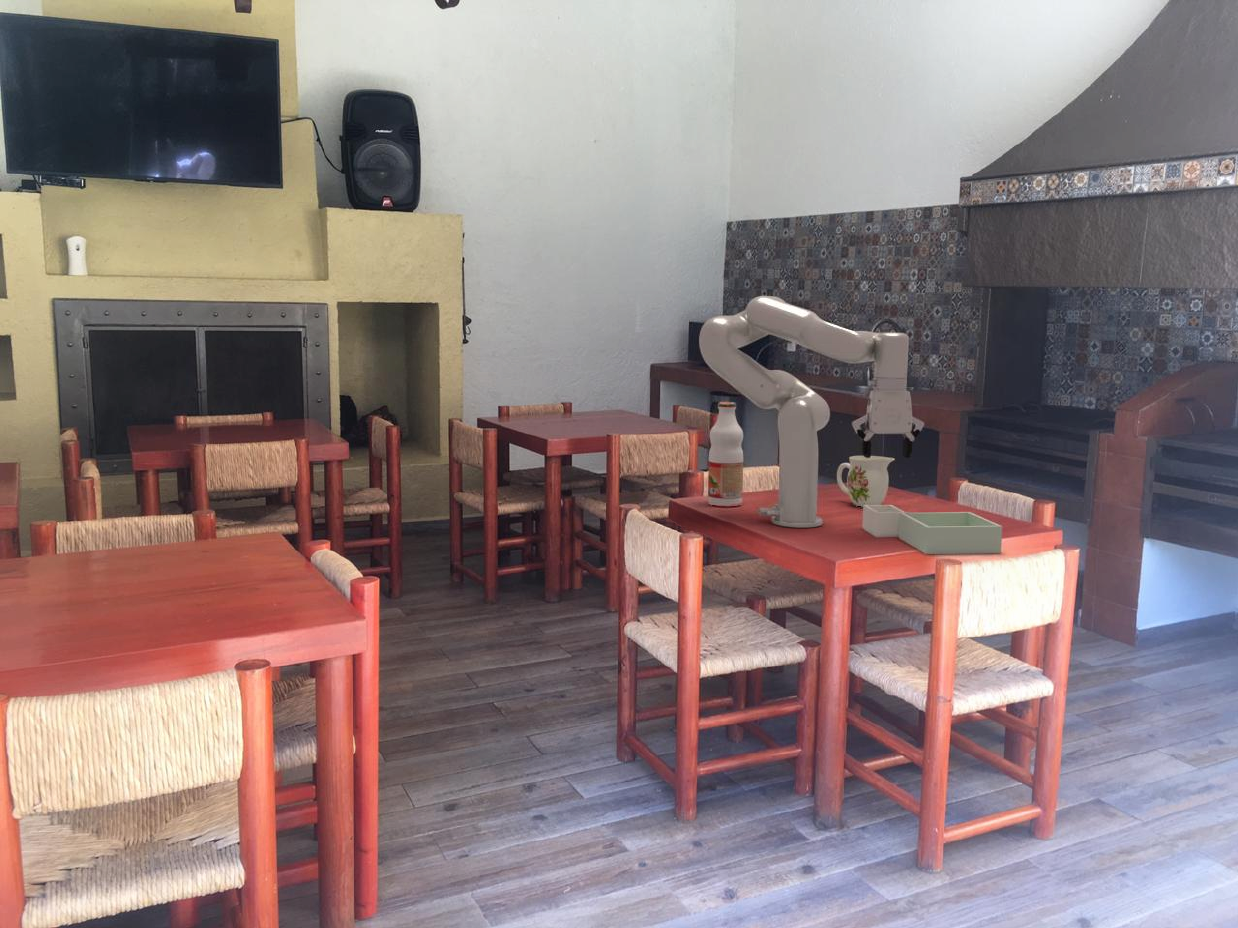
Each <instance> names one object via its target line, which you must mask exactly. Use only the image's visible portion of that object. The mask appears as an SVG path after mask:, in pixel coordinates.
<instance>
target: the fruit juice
mask: <svg viewBox="0 0 1238 928" xmlns="http://www.w3.org/2000/svg"><path fill="white" fill-rule="evenodd" d="M717 409H718V415H717V419H716V422H715V424H713V426H712V427H711V429H710V430H709V439H710V440H709V441H710V448H709V451H708V468H707V469H708V474H707V475H708V477H707V478H708V479H707V480H708V481H707V502H710V503H713V504H718V505H731V504H739V503H742V504H743V490H744V488H743V487H744V486H743V485H744V483H743V482H744V450H743V448H742V443H743V440H744V431H743V429H742V427H741V426H740V425H739V423H738V421H737V417H736V410H737V403H736V402H735V401H734V402H733V401H721V402H718V403H717Z"/></svg>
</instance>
